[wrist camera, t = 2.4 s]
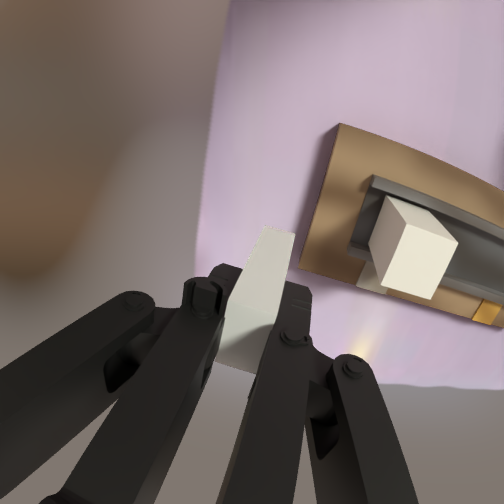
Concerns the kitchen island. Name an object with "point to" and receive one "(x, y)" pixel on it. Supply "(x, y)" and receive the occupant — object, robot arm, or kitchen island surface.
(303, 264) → the wooden slider track
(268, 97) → the kitchen island surface
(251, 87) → the kitchen island surface
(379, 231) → the switch knob
